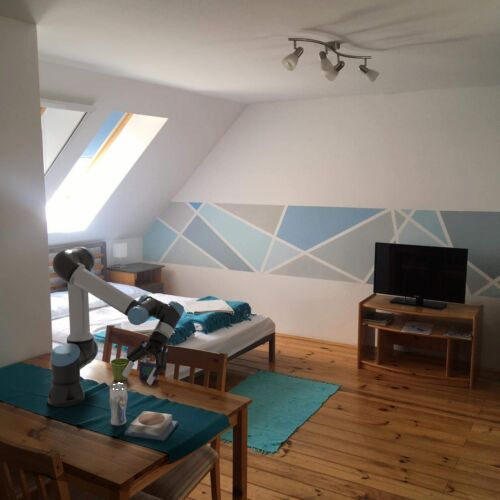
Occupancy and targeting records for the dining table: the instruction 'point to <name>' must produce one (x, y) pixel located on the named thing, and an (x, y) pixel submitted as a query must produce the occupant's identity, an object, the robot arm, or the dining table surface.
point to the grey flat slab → (150, 436)
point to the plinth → (151, 423)
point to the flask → (147, 369)
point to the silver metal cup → (118, 403)
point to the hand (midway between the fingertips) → (136, 379)
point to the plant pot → (119, 368)
